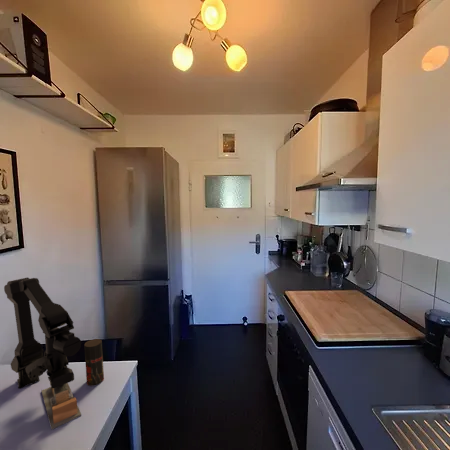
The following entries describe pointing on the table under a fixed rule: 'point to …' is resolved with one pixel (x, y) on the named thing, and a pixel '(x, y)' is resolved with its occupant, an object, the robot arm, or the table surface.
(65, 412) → the rail
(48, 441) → the table surface
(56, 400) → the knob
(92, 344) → the deodorant
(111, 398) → the table surface
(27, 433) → the table surface
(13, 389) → the table surface
